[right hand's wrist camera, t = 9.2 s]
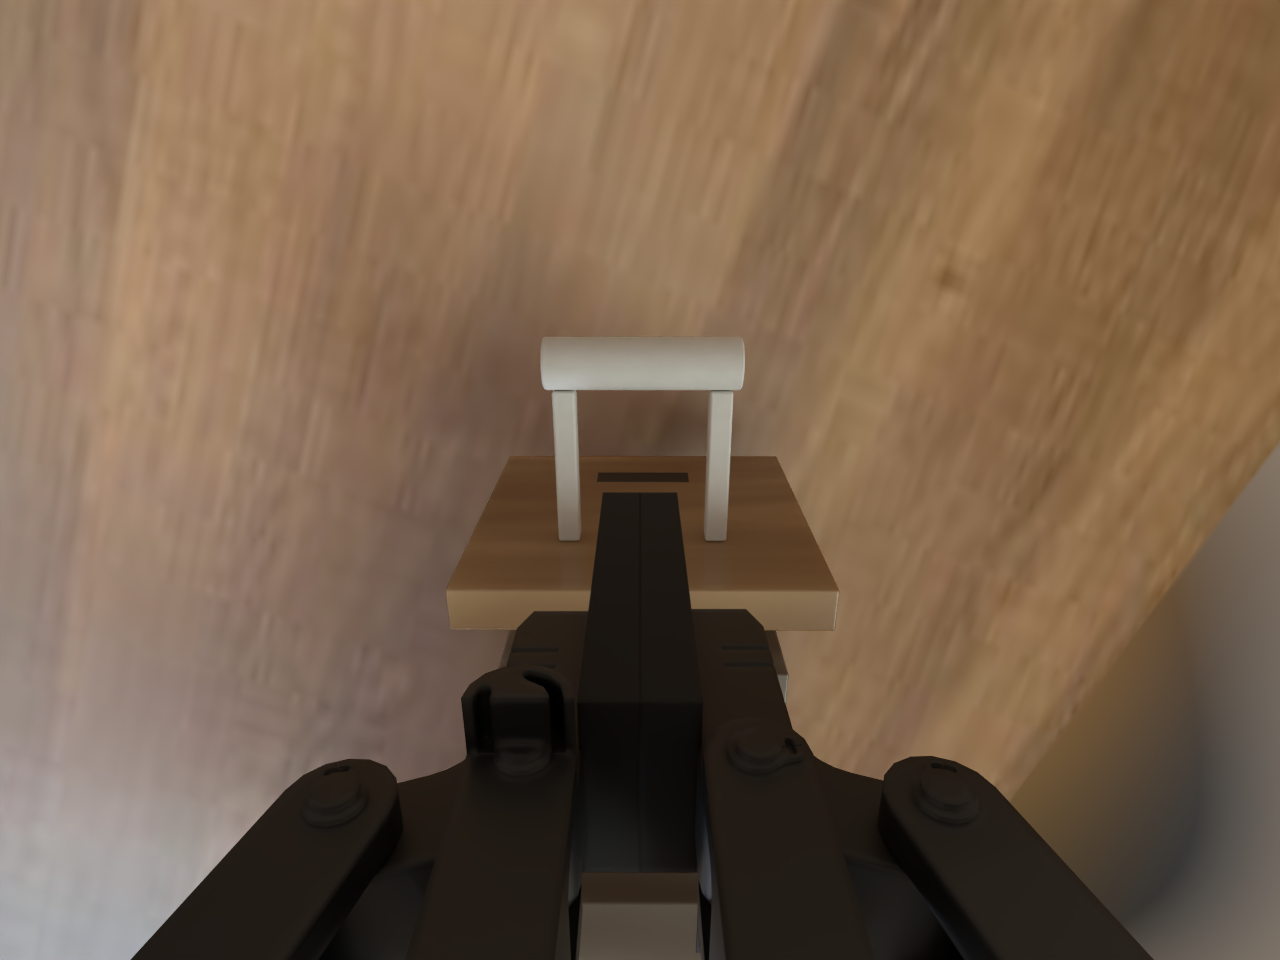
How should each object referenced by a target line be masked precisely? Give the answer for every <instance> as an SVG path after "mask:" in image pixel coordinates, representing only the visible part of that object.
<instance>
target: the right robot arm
mask: <svg viewBox="0 0 1280 960" xmlns="http://www.w3.org/2000/svg"><path fill="white" fill-rule="evenodd" d="M461 702H462V711H463V720H464V730H465V739H466V748H467V756H466V759H465V760H464V761H462V762H461V763H459V764H457V765H455V766H453V767H451V768H449V769H447V770H445V771H442V772H439V773H436V774H433V775H430V776H426V777H422V778H417V779H413V780H409V781H405V782H401V783H397V780H396V777H395V776H394V775H393V774H392V772H391V771H390V770H389V769H388V768H387V766H385V765H382V764H380V763H377V762H374V761H372V760H365V759H346V760H342V761H338V762H334V763H329V764H325V765H323V766H321V767H319V768H317V769H315V770H313V771H311V772H309V773H307V774H305V775H303V776H302V777H301V778H299V779H298V780H297V781H296V782H295V783H293V784H292V785H291V786H290V787H289V788H287V789H286V790H285V791H284V792H283V793H282V794H281V795H280V797H279V798H278V799H277V800H276V801H275V802H274V803H273V804H272V805H271V806H270V808H269V809H268V810H267V811H266V812H265V813H264V814H263V815H262V816H261V817H260V818H259V820H258V821H257V822H256V823H255V824H254V825H253V826H252V827H251V828H250V829H249V831H248V832H247V833H246V834H245V835H244V836H243V837H242V838H241V839H240V840H239V842H238V843H237V844H236V845H235V846H234V847H233V848H232V849H231V850H230V851H229V852H228V854H227V855H226V856H225V857H224V858H223V859H222V860H221V861H220V862H219V863H218V865H217V866H216V867H215V868H214V869H213V870H212V871H211V872H210V873H209V874H208V876H207V877H206V878H205V879H204V880H203V881H202V882H201V883H200V884H199V885H198V886H197V888H196V889H195V890H194V891H193V892H192V893H191V894H190V895H189V896H188V897H187V899H186V900H185V901H184V902H183V903H182V904H181V905H180V906H179V907H178V908H177V910H176V911H175V912H174V913H173V914H172V915H171V916H170V917H169V918H168V919H167V921H166V922H165V923H164V924H163V925H162V926H161V927H160V928H159V929H158V930H157V931H156V933H155V934H154V935H153V936H152V937H151V938H150V939H149V940H148V941H147V942H146V944H145V945H144V946H143V947H142V948H141V949H140V950H139V951H138V952H137V953H136V955H135V956H134V957H133V958H132V959H131V960H579V952H580V939H581V926H582V913H583V907H582V870H583V872H697V866H698V878H699V882H698V907H697V932H696V953H701V960H1153V958H1152V957H1151V956H1150V955H1149V954H1148V953H1147V952H1146V951H1145V950H1144V949H1143V948H1142V947H1141V945H1140V944H1139V943H1138V942H1137V941H1136V940H1135V939H1134V938H1133V937H1132V936H1131V934H1130V933H1129V932H1128V931H1127V930H1126V929H1125V928H1124V927H1123V926H1122V925H1121V924H1120V922H1119V921H1118V920H1117V919H1116V918H1115V917H1114V916H1113V915H1112V914H1111V913H1110V912H1109V911H1108V909H1107V908H1106V907H1105V906H1104V905H1103V904H1102V903H1101V902H1100V901H1099V900H1098V898H1097V897H1096V896H1095V895H1094V894H1093V893H1092V892H1091V891H1090V890H1089V889H1088V888H1087V886H1086V885H1085V884H1084V883H1083V882H1082V881H1081V880H1080V879H1079V878H1078V877H1077V876H1076V875H1075V873H1074V872H1073V871H1072V870H1071V869H1070V868H1069V867H1068V866H1067V865H1066V864H1065V863H1064V861H1063V860H1062V859H1061V858H1060V857H1059V856H1058V855H1057V854H1056V853H1055V852H1054V851H1053V849H1052V848H1051V847H1050V846H1049V845H1048V844H1047V843H1046V842H1045V841H1044V840H1043V839H1042V837H1041V836H1040V835H1039V834H1038V833H1037V832H1036V831H1035V830H1034V829H1033V828H1032V827H1031V826H1030V824H1029V823H1028V822H1027V821H1026V820H1025V819H1024V818H1023V817H1022V816H1021V815H1020V814H1019V812H1018V811H1017V810H1016V809H1015V808H1014V807H1013V806H1012V805H1011V804H1010V803H1009V801H1008V800H1007V799H1006V798H1005V797H1004V796H1003V795H1002V794H1001V793H1000V792H999V791H998V789H997V788H996V787H995V786H993V785H992V784H991V783H990V782H988V781H987V780H986V779H985V778H984V777H982V776H981V775H980V774H979V773H978V772H976V771H974V770H972V769H970V768H968V767H965V766H963V765H961V764H959V763H957V762H955V761H951V760H947V759H942V758H938V757H934V756H918V757H909V758H906V759H904V760H901V761H899V762H896V763H894V764H893V765H892V766H891V768H890V769H889V770H888V771H887V772H886V774H885V775H884V780H883V781H882V780H878V779H874V778H870V777H866V776H862V775H858V774H854V773H850V772H847V771H844V770H841V769H838V768H835V767H832V766H830V765H829V764H827V763H825V762H823V761H821V760H819V759H818V758H816V757H815V756H814V755H813V753H812V751H811V749H810V748H809V746H808V744H807V742H806V741H805V739H804V738H803V737H801V736H800V735H799V734H798V733H796V732H795V731H794V730H793V729H792V725H791V722H790V718H789V715H788V711H787V708H786V704H785V701H784V697H783V694H782V690H781V687H780V683H779V680H778V676H777V673H776V669H775V667H774V662H773V658H772V655H771V651H770V650H769V644H768V641H767V637H766V634H765V630H764V627H763V625H762V624H761V623H760V622H759V621H758V620H757V619H756V618H755V617H754V616H753V615H752V614H751V613H750V612H749V611H748V610H747V609H691V601H690V593H689V585H688V577H687V569H686V561H685V552H684V544H683V536H682V528H681V520H680V512H679V504H678V496H677V492H603V496H602V504H601V512H600V520H599V528H598V536H597V544H596V552H595V561H594V569H593V577H592V585H591V593H590V601H589V609H588V611H534V612H533V613H532V614H531V615H530V616H529V617H528V618H527V619H526V620H525V621H524V622H523V623H522V624H521V625H520V626H519V627H518V628H517V630H516V633H515V637H514V640H513V644H512V647H511V652H510V654H509V658H508V661H507V666H505V667H502V668H499V669H497V670H494V671H491V672H488V673H486V674H484V675H483V676H481V677H480V678H478V679H477V680H476V681H474V682H473V683H471V684H470V685H469V687H468V688H467V690H466V691H465V693H464V694H463V696H462V697H461Z"/></svg>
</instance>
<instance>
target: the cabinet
mask: <svg viewBox="0 0 1280 960" xmlns="http://www.w3.org/2000/svg"><path fill="white" fill-rule="evenodd" d="M698 882H699V878H698V872H582V907H583V913H582V926H581V939H580V952H579V960H701V953H696V932H697V907H698Z"/></svg>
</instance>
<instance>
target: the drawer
mask: <svg viewBox="0 0 1280 960" xmlns="http://www.w3.org/2000/svg"><path fill="white" fill-rule="evenodd" d="M540 366H541V379H542V385H543V387H544V389H545V390H553V392H552V408H553V428H554V449H555V456H511V457H510V458H509V460H508V462H507V464H506V466H505V468H504V470H503V472H502V474H501V476H500V479H499V481H498V483H497V485H496V487H495V489H494V491H493V493H492V495H491V497H490V499H489V501H488V503H487V505H486V508H485V510H484V512H483V514H482V516H481V518H480V520H479V522H478V524H477V526H476V528H475V530H474V532H473V534H472V537H471V539H470V541H469V543H468V545H467V547H466V549H465V551H464V553H463V555H462V557H461V559H460V561H459V564H458V566H457V568H456V570H455V572H454V574H453V576H452V578H451V580H450V582H449V584H448V586H447V588H446V597H447V606H448V615H449V623H450V629H452V630H510V631H509V635H508V638H507V641H506V645H505V648H504V651H503V655H502V658H501V661H500V665H499V668H502V667H505V666H507V661H508V658H509V654H510V652H511V647H512V644H513V640H514V637H515V633H516V630H517V628H518V627H519V626H520V625H521V624H522V623H523V622H524V621H525V620H526V619H527V618H528V617H529V616H530V615H531V614H532V613H533V612H534V611H588V609H589V601H590V593H591V585H592V577H593V569H594V561H595V552H596V544H597V536H598V528H599V520H600V512H601V504H602V496H603V492H677V496H678V504H679V512H680V520H681V528H682V536H683V544H684V552H685V561H686V569H687V577H688V585H689V593H690V601H691V609H747V610H748V611H749V612H750V613H751V614H752V615H753V616H754V617H755V618H756V619H757V620H758V621H759V622H760V623H761V624H762V625H763V627H764V630H765V634H766V637H767V641H768V644H769V650H770V651H771V655H772V658H773V662H774V667H775V669H776V673H777V676H778V680H779V683H780V687H781V690H782V694H783V697H784V701H785V704H786V697H787V686H788V672H787V668H786V665H785V661H784V658H783V654H782V651H781V647H780V644H779V641H778V637H777V634H776V630H806V631H833V630H835V624H836V616H837V607H838V599H839V589H838V587H837V585H836V583H835V581H834V578H833V576H832V574H831V572H830V570H829V568H828V566H827V564H826V561H825V559H824V557H823V555H822V553H821V551H820V549H819V547H818V544H817V542H816V540H815V538H814V536H813V534H812V532H811V529H810V527H809V525H808V523H807V521H806V519H805V517H804V515H803V512H802V510H801V508H800V506H799V504H798V502H797V500H796V498H795V495H794V493H793V491H792V489H791V487H790V485H789V483H788V481H787V478H786V476H785V474H784V472H783V470H782V468H781V466H780V464H779V461H778V459H777V457H767V456H730V454H731V433H732V413H733V392H732V390H740V389H741V388H742V385H743V381H744V370H745V349H744V342H743V339H742V337H544V338H543V339H542V343H541V353H540ZM577 390H709V398H708V426H707V454H706V456H579V447H578V419H577ZM499 668H498V669H499ZM582 872H583V870H582ZM697 872H698V866H697Z"/></svg>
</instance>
